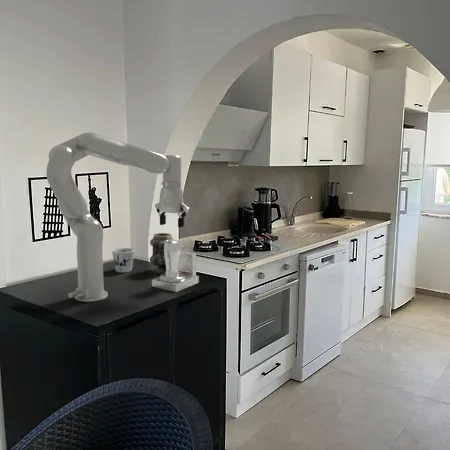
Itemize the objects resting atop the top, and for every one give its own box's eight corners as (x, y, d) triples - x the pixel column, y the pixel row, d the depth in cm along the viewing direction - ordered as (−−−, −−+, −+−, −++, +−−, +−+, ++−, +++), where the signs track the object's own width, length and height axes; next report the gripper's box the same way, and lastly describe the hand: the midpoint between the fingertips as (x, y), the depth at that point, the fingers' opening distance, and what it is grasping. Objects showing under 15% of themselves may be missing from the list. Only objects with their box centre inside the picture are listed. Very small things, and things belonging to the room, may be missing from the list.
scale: (176, 291, 190) (176, 261, 187) (152, 286, 196) (151, 256, 194) (198, 282, 203) (198, 253, 201) (175, 277, 210) (175, 250, 208)
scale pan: (174, 284, 190) (174, 281, 190) (154, 279, 196) (154, 276, 196) (192, 277, 201) (192, 274, 200) (173, 273, 206) (172, 270, 206)
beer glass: (169, 279, 192) (169, 244, 190) (161, 275, 198) (160, 241, 195) (183, 276, 197) (183, 242, 194) (174, 273, 202) (174, 239, 200)
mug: (109, 273, 216) (109, 252, 215) (118, 265, 231) (117, 245, 229) (132, 273, 216) (131, 252, 214) (139, 265, 231) (138, 246, 229)
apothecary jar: (180, 269, 224) (179, 233, 221) (165, 275, 213) (165, 237, 210) (159, 266, 229) (159, 231, 226) (144, 272, 219) (144, 235, 216)
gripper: (150, 184, 192) (150, 224, 195) (183, 187, 183) (182, 229, 186) (161, 183, 198) (161, 222, 201) (194, 186, 189) (193, 227, 192)
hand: (171, 225), depth 194 cm, fingers open, 9 cm apart
